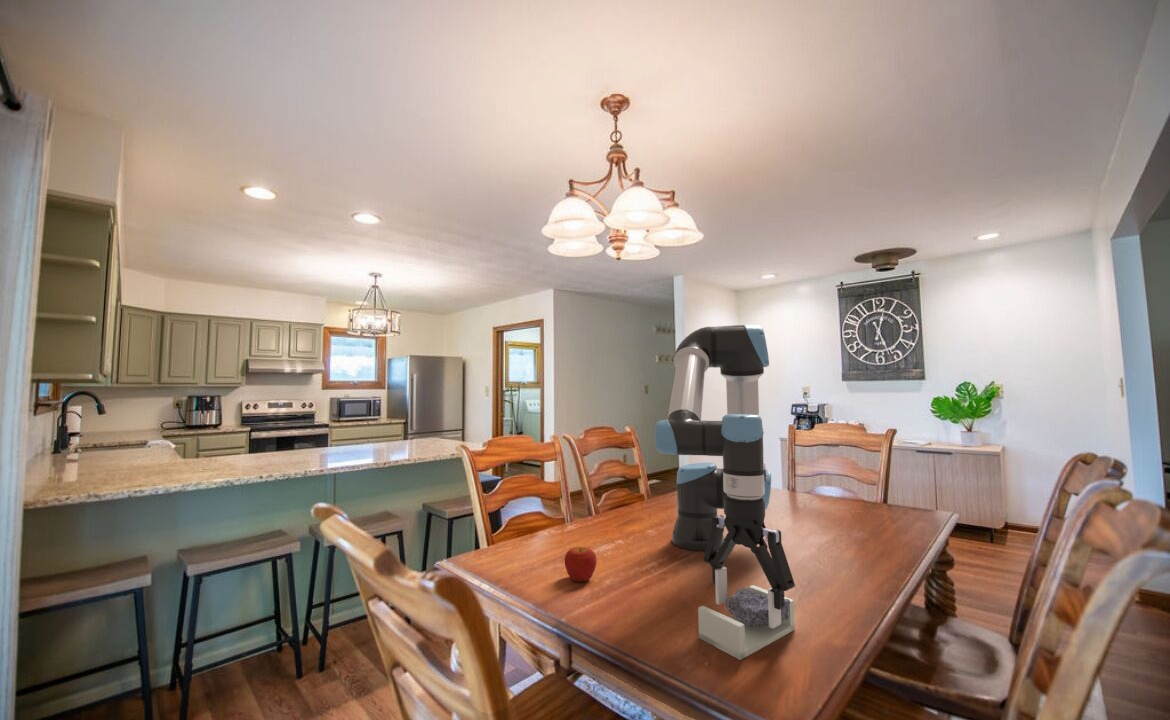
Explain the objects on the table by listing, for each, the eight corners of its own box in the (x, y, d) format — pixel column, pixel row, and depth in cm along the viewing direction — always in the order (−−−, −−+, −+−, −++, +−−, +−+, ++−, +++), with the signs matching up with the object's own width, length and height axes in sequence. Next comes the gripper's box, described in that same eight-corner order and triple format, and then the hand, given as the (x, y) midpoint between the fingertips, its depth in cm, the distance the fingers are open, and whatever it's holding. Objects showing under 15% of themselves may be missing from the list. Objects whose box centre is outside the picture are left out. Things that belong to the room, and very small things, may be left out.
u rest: (698, 638, 89) (698, 607, 89) (753, 612, 99) (752, 584, 99) (740, 660, 81) (739, 626, 82) (794, 629, 91) (793, 600, 92)
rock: (795, 595, 90) (764, 603, 84) (796, 626, 89) (764, 636, 83) (741, 579, 100) (710, 585, 94) (741, 606, 99) (710, 614, 93)
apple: (600, 575, 119) (600, 543, 119) (590, 588, 111) (590, 553, 112) (571, 571, 121) (571, 540, 122) (559, 583, 114) (559, 550, 114)
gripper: (684, 487, 99) (686, 596, 97) (790, 510, 80) (794, 646, 79) (707, 483, 103) (710, 587, 102) (813, 504, 84) (818, 632, 83)
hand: (747, 613), depth 90 cm, fingers closed on rock, 11 cm apart
